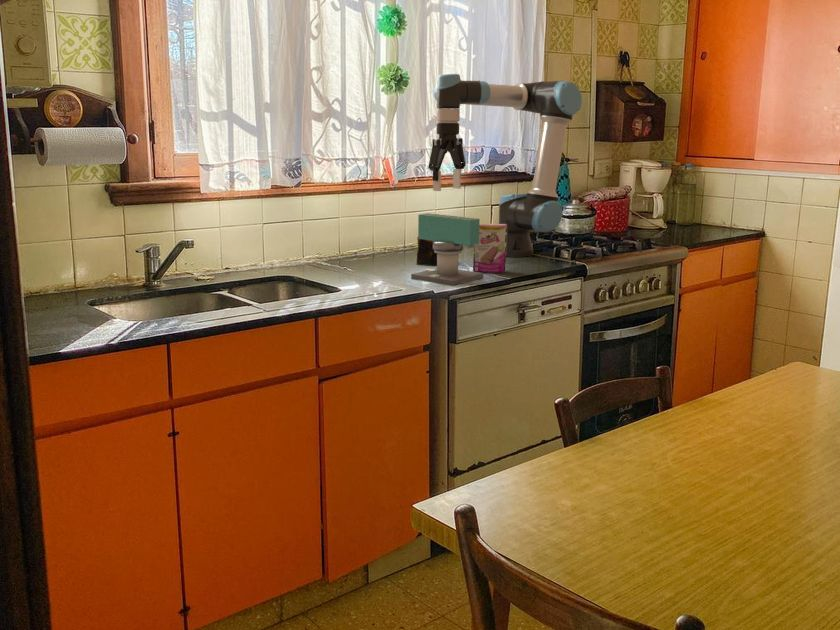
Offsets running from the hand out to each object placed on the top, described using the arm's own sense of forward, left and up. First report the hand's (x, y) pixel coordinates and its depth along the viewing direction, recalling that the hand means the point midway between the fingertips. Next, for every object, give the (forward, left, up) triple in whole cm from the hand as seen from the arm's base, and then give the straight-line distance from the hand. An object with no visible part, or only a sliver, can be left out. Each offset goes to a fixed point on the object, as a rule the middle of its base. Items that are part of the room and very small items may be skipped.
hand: (447, 189), depth 284 cm
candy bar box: (-8, +13, -28) cm, 32 cm away
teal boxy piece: (+10, +8, -18) cm, 22 cm away
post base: (+10, +8, -28) cm, 31 cm away
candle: (-8, -11, -28) cm, 32 cm away
